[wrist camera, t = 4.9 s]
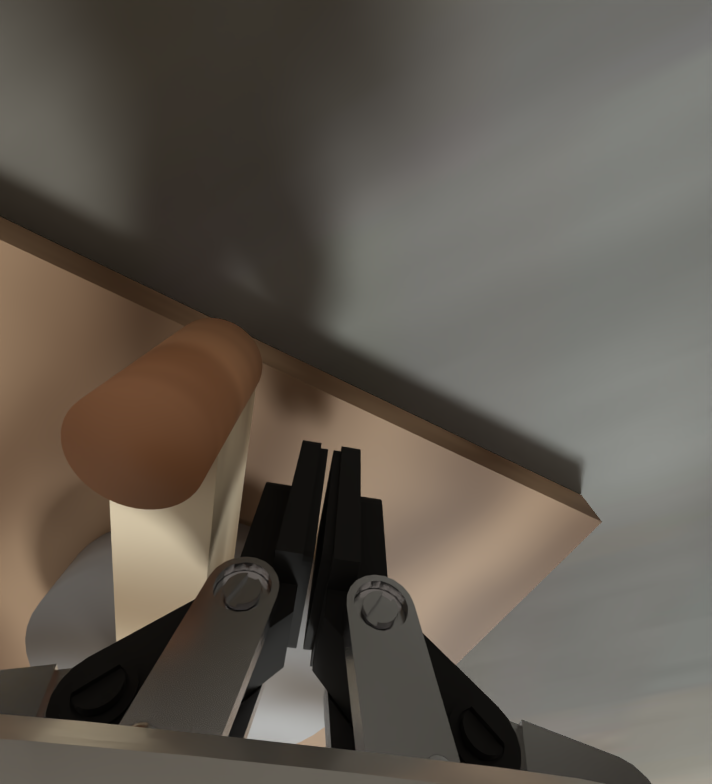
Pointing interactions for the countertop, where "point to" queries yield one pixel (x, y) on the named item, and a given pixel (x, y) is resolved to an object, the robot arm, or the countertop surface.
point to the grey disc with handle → (167, 509)
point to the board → (252, 456)
